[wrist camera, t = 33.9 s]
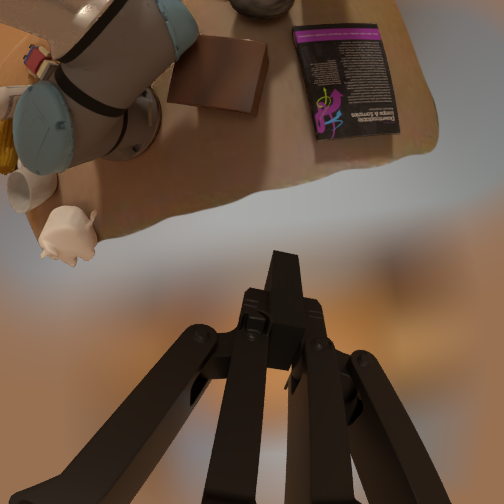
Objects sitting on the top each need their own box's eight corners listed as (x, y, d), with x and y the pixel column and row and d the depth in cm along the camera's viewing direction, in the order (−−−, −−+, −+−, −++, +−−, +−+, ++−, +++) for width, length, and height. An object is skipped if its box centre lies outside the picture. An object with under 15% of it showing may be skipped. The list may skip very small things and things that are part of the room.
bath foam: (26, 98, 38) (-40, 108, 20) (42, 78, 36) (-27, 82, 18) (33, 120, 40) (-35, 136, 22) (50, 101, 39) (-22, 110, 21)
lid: (168, 102, 30) (166, 102, 29) (183, 36, 26) (181, 34, 25) (251, 113, 30) (251, 113, 29) (267, 44, 26) (267, 42, 25)
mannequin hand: (70, 241, 57) (39, 211, 48) (122, 218, 54) (90, 179, 45) (56, 284, 49) (19, 254, 40) (110, 265, 46) (69, 226, 37)
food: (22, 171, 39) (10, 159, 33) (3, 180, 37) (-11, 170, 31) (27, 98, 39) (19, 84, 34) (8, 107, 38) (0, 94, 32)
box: (290, 32, 33) (315, 141, 41) (291, 25, 30) (318, 142, 38) (371, 29, 31) (393, 134, 39) (377, 23, 28) (402, 135, 36)
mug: (65, 194, 48) (35, 210, 39) (41, 201, 49) (13, 217, 40) (54, 138, 42) (21, 146, 33) (30, 149, 43) (0, 159, 34)
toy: (28, 63, 34) (52, 87, 37) (16, 62, 31) (38, 86, 33) (41, 41, 32) (66, 62, 35) (29, 39, 28) (53, 60, 31)
